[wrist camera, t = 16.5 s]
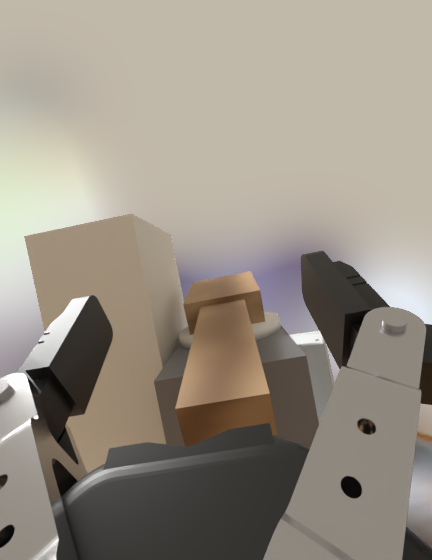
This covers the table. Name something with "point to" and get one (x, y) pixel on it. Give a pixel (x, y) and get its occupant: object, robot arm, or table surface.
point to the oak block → (223, 360)
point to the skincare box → (317, 367)
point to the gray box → (279, 375)
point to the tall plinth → (115, 321)
